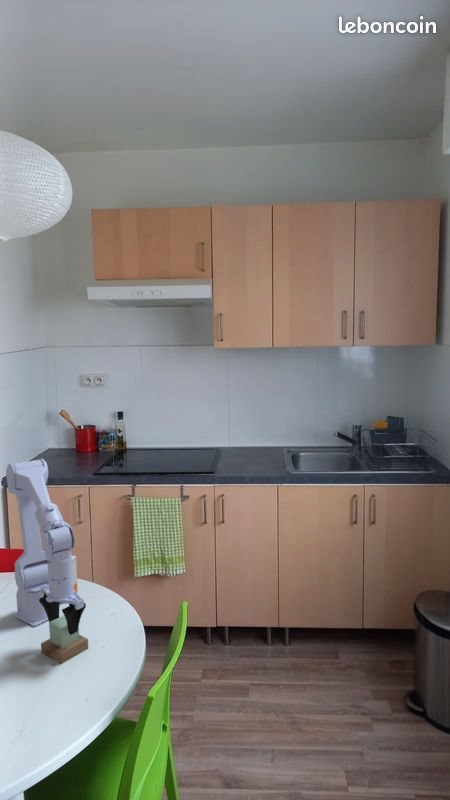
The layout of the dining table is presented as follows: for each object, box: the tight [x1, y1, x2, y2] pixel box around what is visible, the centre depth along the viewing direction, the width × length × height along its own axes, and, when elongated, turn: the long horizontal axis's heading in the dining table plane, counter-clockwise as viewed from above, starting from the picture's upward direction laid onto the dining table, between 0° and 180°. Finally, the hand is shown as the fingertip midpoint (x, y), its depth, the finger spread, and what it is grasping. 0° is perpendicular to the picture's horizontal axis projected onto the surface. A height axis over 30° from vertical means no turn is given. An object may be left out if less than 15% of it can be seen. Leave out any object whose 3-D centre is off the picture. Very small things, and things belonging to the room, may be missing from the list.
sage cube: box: [48, 614, 80, 648], centre depth 140 cm, size 5×5×5 cm
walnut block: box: [40, 634, 89, 665], centre depth 140 cm, size 8×8×3 cm
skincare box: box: [72, 555, 79, 595], centre depth 167 cm, size 6×4×12 cm
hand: (63, 627), depth 139 cm, fingers open, 7 cm apart
